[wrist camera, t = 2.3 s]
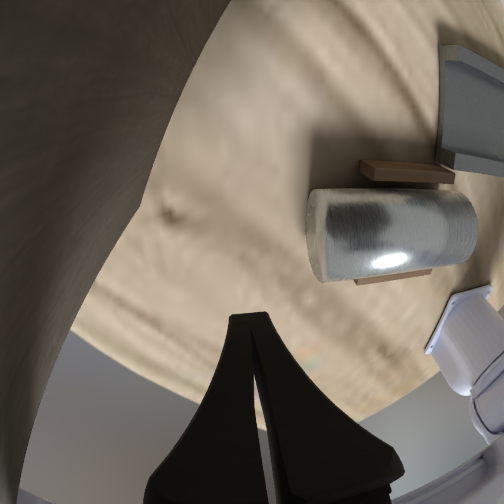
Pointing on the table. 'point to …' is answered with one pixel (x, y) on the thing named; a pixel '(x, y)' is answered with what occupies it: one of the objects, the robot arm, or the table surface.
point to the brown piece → (403, 174)
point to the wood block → (74, 167)
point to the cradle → (470, 112)
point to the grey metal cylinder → (387, 231)
